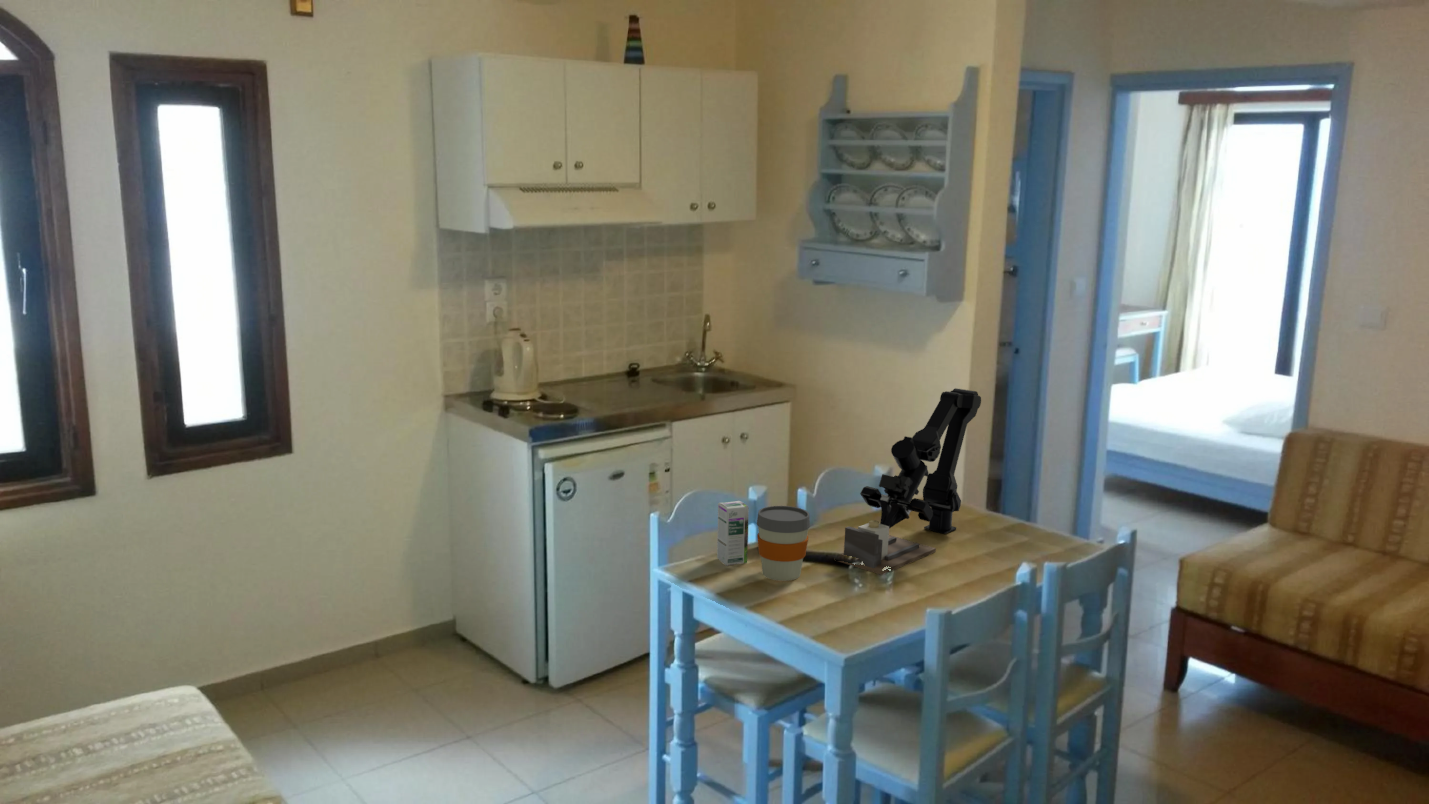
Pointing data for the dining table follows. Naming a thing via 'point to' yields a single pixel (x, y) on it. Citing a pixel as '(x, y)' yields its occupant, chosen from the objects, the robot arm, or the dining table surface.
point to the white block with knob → (878, 533)
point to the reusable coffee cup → (782, 541)
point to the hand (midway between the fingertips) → (881, 531)
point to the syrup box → (732, 532)
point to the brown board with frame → (871, 551)
